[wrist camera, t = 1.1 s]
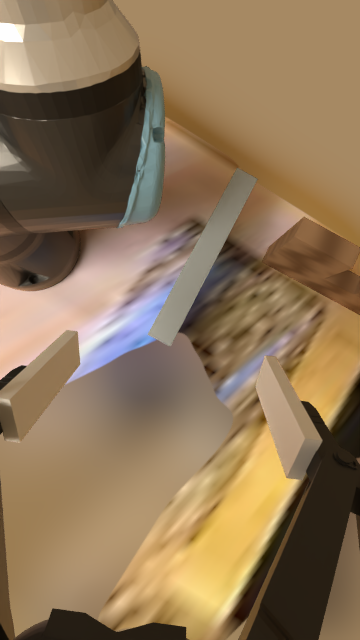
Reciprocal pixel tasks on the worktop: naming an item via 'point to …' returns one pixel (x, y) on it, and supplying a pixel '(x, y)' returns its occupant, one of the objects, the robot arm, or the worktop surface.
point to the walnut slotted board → (318, 262)
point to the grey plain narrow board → (202, 258)
